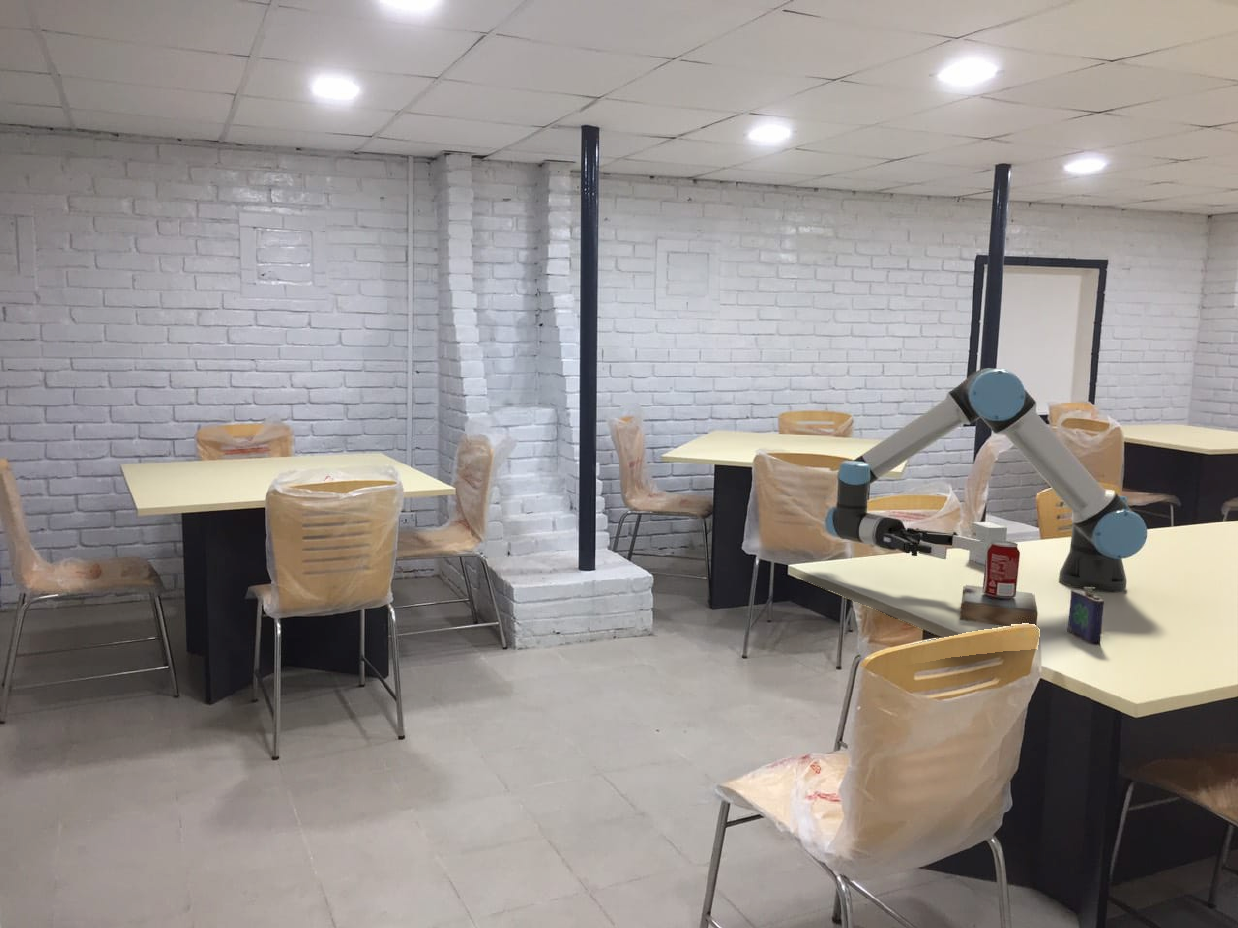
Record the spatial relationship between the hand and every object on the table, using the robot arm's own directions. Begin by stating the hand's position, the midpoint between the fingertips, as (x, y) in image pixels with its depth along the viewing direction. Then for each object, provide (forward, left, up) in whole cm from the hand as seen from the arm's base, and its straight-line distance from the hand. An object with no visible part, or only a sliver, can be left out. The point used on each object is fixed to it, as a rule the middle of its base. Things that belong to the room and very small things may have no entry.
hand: (962, 549), depth 217 cm
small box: (-6, -49, -13) cm, 51 cm away
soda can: (-8, +5, -9) cm, 13 cm away
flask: (-25, +14, -13) cm, 31 cm away
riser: (-8, +5, -13) cm, 16 cm away
